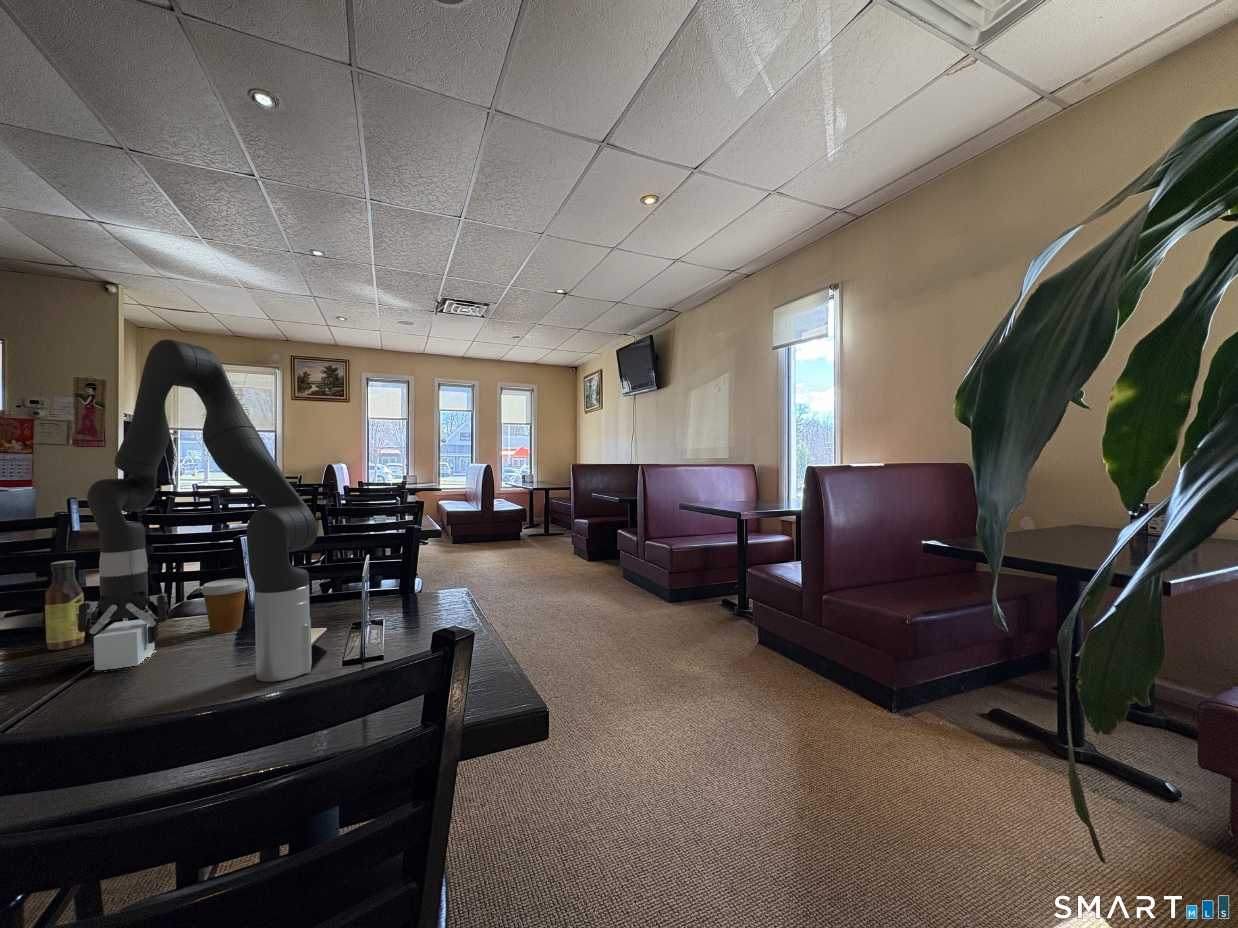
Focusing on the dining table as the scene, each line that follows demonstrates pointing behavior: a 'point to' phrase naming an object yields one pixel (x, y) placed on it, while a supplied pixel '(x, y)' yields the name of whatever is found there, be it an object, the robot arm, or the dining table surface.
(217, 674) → the dining table surface
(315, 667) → the dining table surface
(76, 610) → the sauce bottle
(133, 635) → the white angular block
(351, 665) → the dining table surface
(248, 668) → the dining table surface
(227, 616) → the disposable coffee cup
